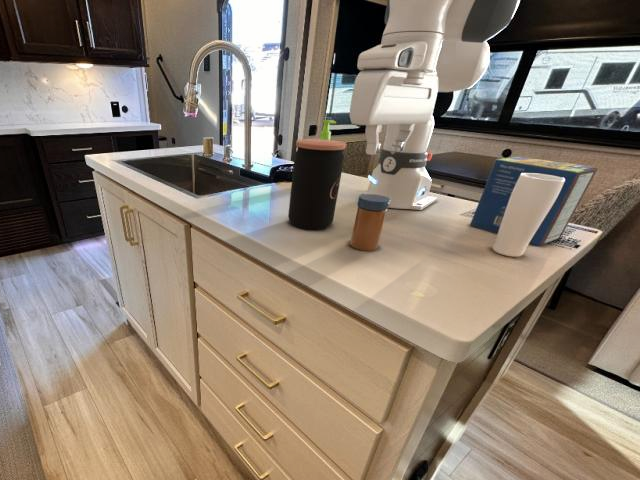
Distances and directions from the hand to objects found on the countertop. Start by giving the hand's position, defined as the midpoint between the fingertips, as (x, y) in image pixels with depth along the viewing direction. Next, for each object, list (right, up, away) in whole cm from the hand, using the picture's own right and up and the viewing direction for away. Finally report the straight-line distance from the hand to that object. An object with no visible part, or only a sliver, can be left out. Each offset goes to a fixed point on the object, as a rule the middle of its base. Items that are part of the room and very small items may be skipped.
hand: (384, 152), depth 61 cm
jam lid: (0, -7, +5) cm, 9 cm away
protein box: (+39, -11, +20) cm, 45 cm away
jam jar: (0, -15, +10) cm, 18 cm away
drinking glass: (+29, -17, +9) cm, 34 cm away
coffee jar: (-9, -8, +21) cm, 24 cm away
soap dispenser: (+1, +14, +57) cm, 58 cm away
